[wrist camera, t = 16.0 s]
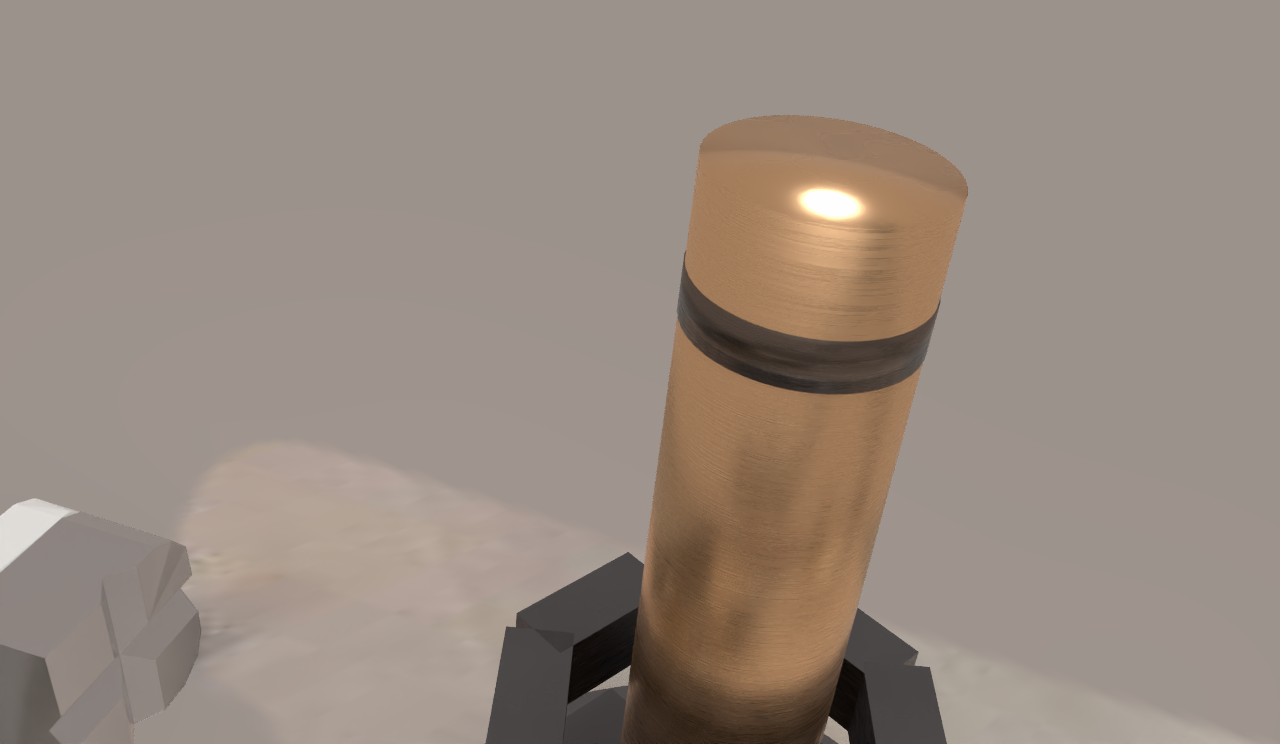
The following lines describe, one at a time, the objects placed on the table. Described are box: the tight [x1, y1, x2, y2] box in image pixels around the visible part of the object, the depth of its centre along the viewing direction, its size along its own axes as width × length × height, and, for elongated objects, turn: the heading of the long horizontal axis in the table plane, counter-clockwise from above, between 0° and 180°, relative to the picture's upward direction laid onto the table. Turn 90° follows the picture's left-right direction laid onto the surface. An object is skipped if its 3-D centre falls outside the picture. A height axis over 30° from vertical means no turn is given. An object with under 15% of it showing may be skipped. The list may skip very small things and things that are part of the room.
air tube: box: [620, 115, 968, 744], centre depth 25 cm, size 4×4×20 cm
